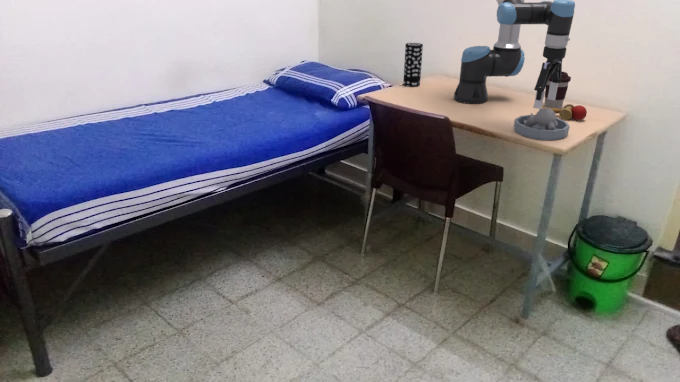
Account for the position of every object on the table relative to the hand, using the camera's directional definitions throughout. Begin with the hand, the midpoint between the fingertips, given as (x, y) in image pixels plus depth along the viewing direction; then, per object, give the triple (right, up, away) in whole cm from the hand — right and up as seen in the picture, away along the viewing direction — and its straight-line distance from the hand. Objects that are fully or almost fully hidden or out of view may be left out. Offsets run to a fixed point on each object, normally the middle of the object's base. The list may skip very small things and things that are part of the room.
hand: (544, 104), depth 195 cm
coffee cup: (+17, +4, +34) cm, 38 cm away
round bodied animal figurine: (0, -9, +4) cm, 10 cm away
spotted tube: (-40, +21, +67) cm, 81 cm away
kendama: (+15, -2, +21) cm, 26 cm away
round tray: (0, -10, +4) cm, 11 cm away
